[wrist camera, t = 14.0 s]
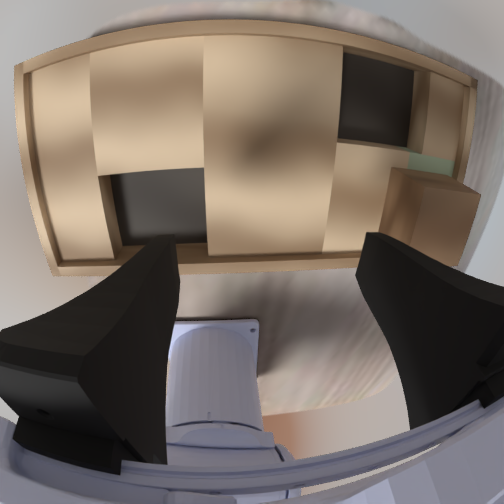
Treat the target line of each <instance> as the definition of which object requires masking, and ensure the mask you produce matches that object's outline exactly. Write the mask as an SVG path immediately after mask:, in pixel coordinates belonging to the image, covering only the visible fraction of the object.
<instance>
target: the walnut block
mask: <svg viewBox="0 0 504 504" xmlns="http://www.w3.org/2000/svg"><path fill="white" fill-rule="evenodd" d="M480 197H481V195H480V194H479V193H477V192H476V191H474V190H472V189H471V188H469V187H467V186H466V185H464V184H462V183H460V182H459V181H457V180H455V179H453V178H452V177H450V176H448V175H444V174H438V173H432V172H425V171H419V170H412V169H404V168H396V167H391V171H390V177H389V182H388V188H387V193H386V198H385V203H384V208H383V212H382V217H381V221H380V226H379V230H378V232H380V233H383V234H386V235H388V236H391V237H393V238H395V239H397V240H399V241H401V242H403V243H405V244H407V245H409V246H411V247H412V248H414V249H416V250H418V251H420V252H422V253H423V254H425V255H427V256H429V257H431V258H433V259H435V260H437V261H439V262H441V263H443V264H445V265H447V266H458V263H459V261H460V258H461V256H462V253H463V250H464V248H465V245H466V242H467V239H468V236H469V233H470V230H471V227H472V224H473V221H474V218H475V215H476V211H477V208H478V204H479V201H480Z"/></svg>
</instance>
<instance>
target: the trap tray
mask: <svg viewBox="0 0 504 504" xmlns="http://www.w3.org/2000/svg"><path fill="white" fill-rule="evenodd" d="M477 83H478V80H476V79H474V78H472V77H470V76H468V75H466V74H464V73H462V72H460V71H458V70H456V69H454V68H452V67H450V66H447V65H445V64H443V63H441V62H438V61H436V60H434V59H431V58H429V57H426V56H424V55H421V54H418V53H416V52H413V51H410V50H407V49H405V48H402V47H399V46H396V45H392V44H389V43H386V42H383V41H379V40H376V39H372V38H368V37H365V36H361V35H357V34H352V33H348V32H343V31H339V30H334V29H328V28H323V27H317V26H310V25H303V24H296V23H287V22H277V21H263V20H236V19H223V20H196V21H183V22H172V23H164V24H156V25H149V26H143V27H137V28H132V29H126V30H121V31H117V32H112V33H108V34H104V35H100V36H96V37H92V38H89V39H85V40H82V41H79V42H75V43H72V44H69V45H66V46H63V47H60V48H57V49H55V50H52V51H49V52H46V53H44V54H41V55H38V56H36V57H34V58H31V59H29V60H27V61H24V62H22V63H20V64H18V65H16V66H14V90H15V91H14V93H15V112H16V125H17V134H18V142H19V149H20V156H21V162H22V168H23V174H24V179H25V184H26V188H27V193H28V197H29V201H30V205H31V209H32V213H33V217H34V221H35V224H36V227H37V231H38V234H39V238H40V241H41V244H42V247H43V250H44V253H45V256H46V259H47V262H48V264H49V267H50V270H51V273H52V275H53V276H110V275H111V274H112V273H113V272H115V271H116V270H117V269H118V268H120V267H121V266H122V265H123V264H124V263H126V262H127V261H128V260H129V259H131V258H132V257H133V256H134V255H135V254H136V253H137V252H139V251H140V250H141V249H142V248H143V247H144V246H145V245H146V244H148V243H149V242H150V241H151V240H152V239H153V238H154V237H156V236H157V235H167V234H175V242H176V251H177V260H178V268H179V275H187V274H221V273H249V272H274V271H297V270H317V269H337V268H355V267H358V264H359V260H360V256H361V252H362V248H363V244H364V239H365V235H366V232H378V230H379V226H380V221H381V217H382V212H383V208H384V203H385V198H386V193H387V188H388V182H389V177H390V171H391V167H396V168H404V169H412V170H419V171H425V172H432V173H438V174H444V175H448V176H450V177H452V178H453V179H455V180H457V181H459V182H460V183H462V184H463V182H464V177H465V173H466V168H467V163H468V158H469V152H470V147H471V140H472V134H473V127H474V119H475V109H476V98H477Z"/></svg>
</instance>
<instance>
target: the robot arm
mask: <svg viewBox="0 0 504 504" xmlns="http://www.w3.org/2000/svg"><path fill="white" fill-rule="evenodd" d="M355 276H356V278H357V281H358V284H359V287H360V289H361V292H362V294H363V296H364V298H365V300H366V302H367V304H368V306H369V308H370V310H371V311H372V313H373V315H374V317H375V319H376V320H377V322H378V324H379V326H380V328H381V330H382V332H383V333H384V335H385V337H386V339H387V342H388V344H389V346H390V349H391V351H392V354H393V357H394V360H395V363H396V365H397V369H398V372H399V375H400V379H401V382H402V386H403V391H404V395H405V400H406V404H407V410H408V417H409V424H410V431H407V432H404V433H401V434H398V435H395V436H392V437H389V438H387V439H383V440H380V441H377V442H374V443H370V444H367V445H363V446H359V447H355V448H352V449H348V450H344V451H339V452H335V453H330V454H326V455H321V456H316V457H310V458H304V459H298V460H295V459H294V457H293V455H292V454H291V453H290V452H289V451H288V450H287V448H286V447H284V446H283V445H281V444H274V438H273V433H272V432H264V428H263V421H262V413H261V406H260V399H259V392H258V385H257V377H256V370H257V354H258V338H259V322H258V320H256V319H242V320H217V321H175V319H176V314H177V309H178V303H179V291H180V276H179V268H178V260H177V251H176V242H175V234H167V235H157V236H156V237H154V238H153V239H152V240H151V241H150V242H149V243H148V244H146V245H145V246H144V247H143V248H142V249H141V250H140V251H139V252H137V253H136V254H135V255H134V256H133V257H132V258H131V259H129V260H128V261H127V262H126V263H124V264H123V265H122V266H121V267H120V268H118V269H117V270H116V271H115V272H113V273H112V274H111V275H110V276H108V277H107V278H106V279H104V280H103V281H101V282H100V283H98V284H97V285H95V286H94V287H92V288H91V289H89V290H88V291H86V292H85V293H83V294H81V295H79V296H77V297H76V298H74V299H72V300H70V301H69V302H67V303H65V304H63V305H61V306H59V307H57V308H55V309H53V310H51V311H49V312H47V313H45V314H42V315H40V316H38V317H35V318H33V319H30V320H28V321H25V322H22V323H19V324H17V325H14V326H11V327H8V328H5V329H2V330H1V332H0V397H1V398H2V399H3V400H4V401H5V402H6V403H7V405H8V406H9V407H10V408H11V409H12V410H13V411H14V412H15V413H16V414H17V415H18V416H19V418H18V422H17V425H16V424H14V423H13V422H11V421H10V420H7V419H6V418H3V417H1V416H0V503H1V504H504V287H502V286H499V285H495V284H492V283H489V282H486V281H483V280H480V279H477V278H475V277H472V276H469V275H467V274H465V273H462V272H460V271H458V270H455V269H453V268H451V267H449V266H447V265H445V264H443V263H441V262H439V261H437V260H435V259H433V258H431V257H429V256H427V255H425V254H423V253H422V252H420V251H418V250H416V249H414V248H412V247H411V246H409V245H407V244H405V243H403V242H401V241H399V240H397V239H395V238H393V237H391V236H388V235H386V234H383V233H380V232H366V235H365V239H364V244H363V248H362V252H361V256H360V260H359V264H358V267H357V271H356V275H355ZM252 328H254V329H252ZM168 357H169V361H170V367H169V376H168V386H167V397H166V377H167V362H168ZM440 443H441V444H440ZM437 444H440V445H439V446H438V447H436V448H434V449H432V450H431V451H429V452H427V453H424V454H422V455H421V456H419V457H417V458H415V459H413V460H410V461H408V462H406V463H403V464H401V465H399V466H396V467H394V468H391V469H389V470H386V471H384V472H381V473H378V474H375V475H372V476H370V477H367V478H364V479H361V480H358V481H355V482H352V483H348V484H345V485H342V486H338V487H335V488H331V489H328V490H324V491H320V492H316V493H312V494H308V495H303V496H301V488H303V487H309V486H314V485H319V484H323V483H327V482H332V481H337V480H340V479H344V478H348V477H352V476H355V475H359V474H362V473H366V472H369V471H372V470H375V469H378V468H381V467H384V466H387V465H390V464H392V463H395V462H398V461H400V460H403V459H405V458H408V457H410V456H413V455H415V454H418V453H420V452H422V451H425V450H427V449H429V448H431V447H433V446H435V445H437Z"/></svg>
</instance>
